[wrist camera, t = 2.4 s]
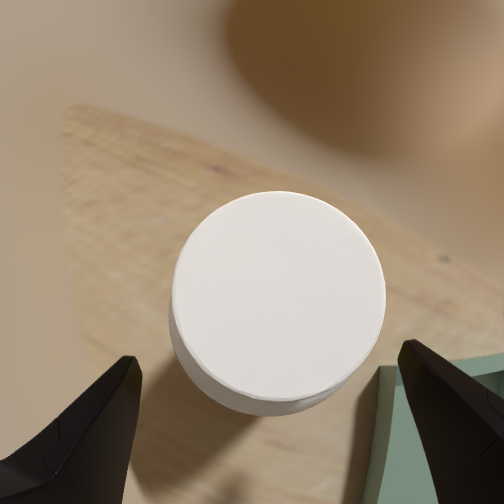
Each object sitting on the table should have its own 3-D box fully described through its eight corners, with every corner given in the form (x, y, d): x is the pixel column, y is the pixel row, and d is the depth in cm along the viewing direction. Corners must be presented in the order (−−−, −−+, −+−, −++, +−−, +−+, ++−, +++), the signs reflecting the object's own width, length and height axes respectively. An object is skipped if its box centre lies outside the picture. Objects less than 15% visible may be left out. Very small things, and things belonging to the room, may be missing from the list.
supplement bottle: (329, 367, 17) (457, 377, 5) (225, 400, 17) (175, 481, 5) (295, 269, 20) (355, 136, 7) (196, 298, 19) (109, 198, 7)
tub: (477, 505, 12) (493, 512, 10) (350, 542, 13) (360, 559, 10) (503, 352, 17) (523, 350, 15) (379, 365, 17) (396, 365, 15)
